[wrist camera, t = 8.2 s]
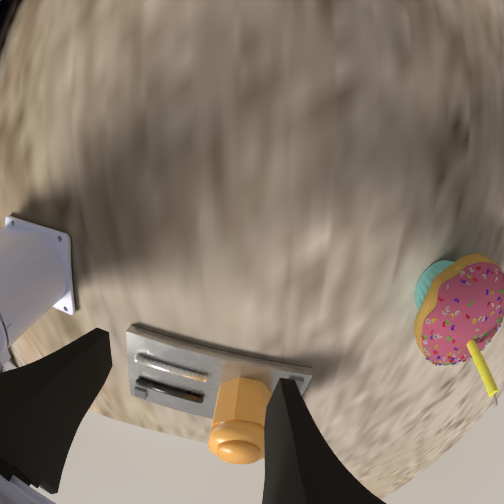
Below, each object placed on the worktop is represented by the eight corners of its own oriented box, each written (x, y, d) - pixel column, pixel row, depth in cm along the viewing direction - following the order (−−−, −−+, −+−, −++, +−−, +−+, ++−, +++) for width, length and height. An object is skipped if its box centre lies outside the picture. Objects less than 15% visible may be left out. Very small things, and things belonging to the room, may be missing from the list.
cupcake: (425, 342, 21) (482, 439, 10) (373, 297, 20) (442, 420, 8) (484, 273, 18) (567, 345, 7) (444, 212, 17) (562, 279, 6)
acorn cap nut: (215, 403, 23) (203, 461, 17) (223, 373, 22) (211, 437, 15) (262, 413, 23) (259, 470, 17) (276, 384, 22) (277, 447, 16)
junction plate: (134, 388, 25) (121, 415, 21) (130, 324, 22) (111, 353, 18) (281, 423, 25) (281, 453, 22) (311, 367, 22) (317, 401, 18)
